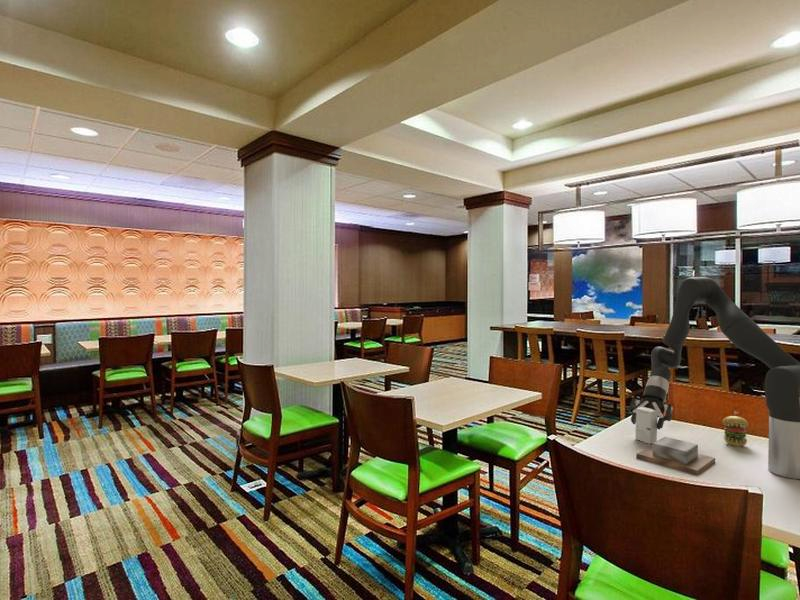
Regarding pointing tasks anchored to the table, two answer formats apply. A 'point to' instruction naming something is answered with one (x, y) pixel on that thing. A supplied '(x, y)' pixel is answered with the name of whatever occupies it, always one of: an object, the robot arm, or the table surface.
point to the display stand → (676, 455)
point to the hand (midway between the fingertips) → (645, 425)
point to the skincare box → (646, 425)
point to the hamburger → (735, 430)
